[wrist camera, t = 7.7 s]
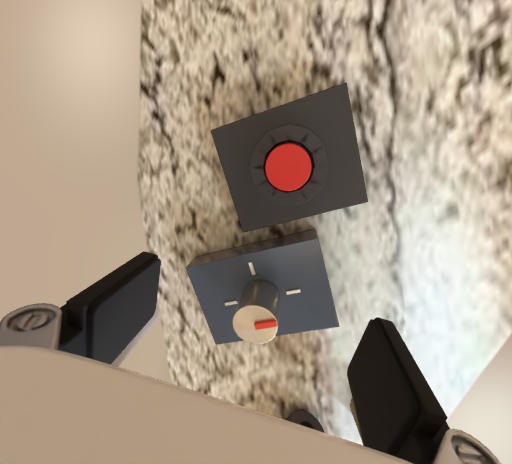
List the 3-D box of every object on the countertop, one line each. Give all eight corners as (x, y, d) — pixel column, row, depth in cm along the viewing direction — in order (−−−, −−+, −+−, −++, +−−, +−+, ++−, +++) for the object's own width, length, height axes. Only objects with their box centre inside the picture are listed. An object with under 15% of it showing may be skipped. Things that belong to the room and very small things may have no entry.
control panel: (222, 327, 32) (215, 345, 29) (195, 256, 29) (184, 268, 26) (335, 309, 29) (339, 328, 26) (315, 228, 26) (318, 238, 23)
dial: (249, 316, 27) (239, 349, 22) (237, 284, 26) (225, 311, 21) (285, 310, 26) (283, 343, 21) (274, 276, 25) (270, 303, 20)
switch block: (247, 226, 27) (239, 238, 23) (217, 132, 25) (203, 128, 21) (361, 197, 24) (374, 205, 21) (341, 89, 22) (351, 75, 18)
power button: (273, 193, 22) (272, 196, 20) (262, 151, 21) (259, 151, 19) (314, 181, 21) (316, 184, 20) (304, 138, 20) (305, 137, 19)
